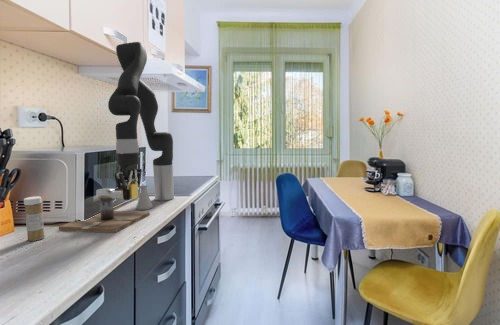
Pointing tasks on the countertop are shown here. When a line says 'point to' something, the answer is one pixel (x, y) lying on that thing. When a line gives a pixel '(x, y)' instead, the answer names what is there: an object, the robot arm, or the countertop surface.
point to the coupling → (117, 192)
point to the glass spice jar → (106, 209)
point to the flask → (144, 199)
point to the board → (106, 222)
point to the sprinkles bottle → (34, 218)
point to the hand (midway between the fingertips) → (130, 198)
